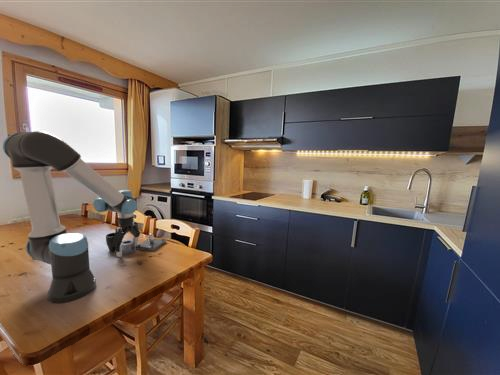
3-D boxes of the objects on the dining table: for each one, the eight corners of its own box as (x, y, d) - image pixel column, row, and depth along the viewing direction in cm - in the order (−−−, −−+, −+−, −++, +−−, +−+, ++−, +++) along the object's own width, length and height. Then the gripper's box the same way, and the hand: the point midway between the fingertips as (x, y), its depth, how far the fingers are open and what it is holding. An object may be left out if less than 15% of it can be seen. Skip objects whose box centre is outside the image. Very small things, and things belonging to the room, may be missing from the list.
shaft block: (153, 251, 125) (153, 238, 124) (135, 249, 127) (134, 236, 126) (166, 242, 139) (165, 230, 138) (149, 240, 141) (149, 229, 140)
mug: (109, 256, 118) (108, 240, 116) (105, 249, 126) (104, 234, 125) (125, 252, 123) (124, 236, 122) (121, 245, 132) (120, 231, 131)
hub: (128, 255, 119) (128, 245, 118) (117, 253, 120) (117, 244, 120) (137, 249, 126) (137, 240, 126) (126, 248, 127) (126, 239, 127)
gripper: (115, 223, 108) (117, 262, 111) (145, 211, 132) (146, 244, 135) (102, 222, 109) (105, 260, 112) (134, 211, 133) (136, 243, 136)
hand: (127, 251), depth 123 cm, fingers open, 12 cm apart
